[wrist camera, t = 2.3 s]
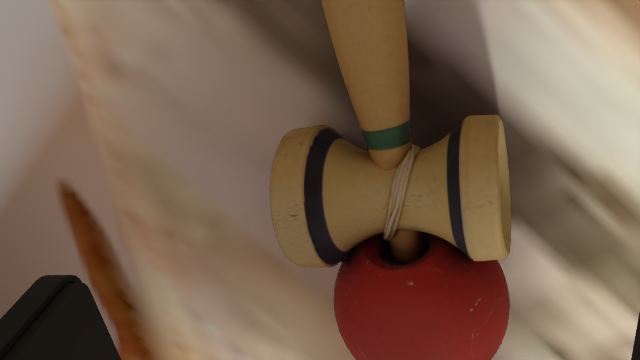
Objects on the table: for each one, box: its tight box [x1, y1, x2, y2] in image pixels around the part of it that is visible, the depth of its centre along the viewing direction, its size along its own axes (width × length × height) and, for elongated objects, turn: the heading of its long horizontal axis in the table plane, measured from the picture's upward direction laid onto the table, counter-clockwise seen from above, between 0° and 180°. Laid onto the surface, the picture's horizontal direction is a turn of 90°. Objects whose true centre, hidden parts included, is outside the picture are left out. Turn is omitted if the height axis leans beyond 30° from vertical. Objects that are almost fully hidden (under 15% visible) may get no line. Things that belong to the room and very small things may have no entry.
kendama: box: [270, 0, 511, 360], centre depth 17 cm, size 8×6×18 cm
